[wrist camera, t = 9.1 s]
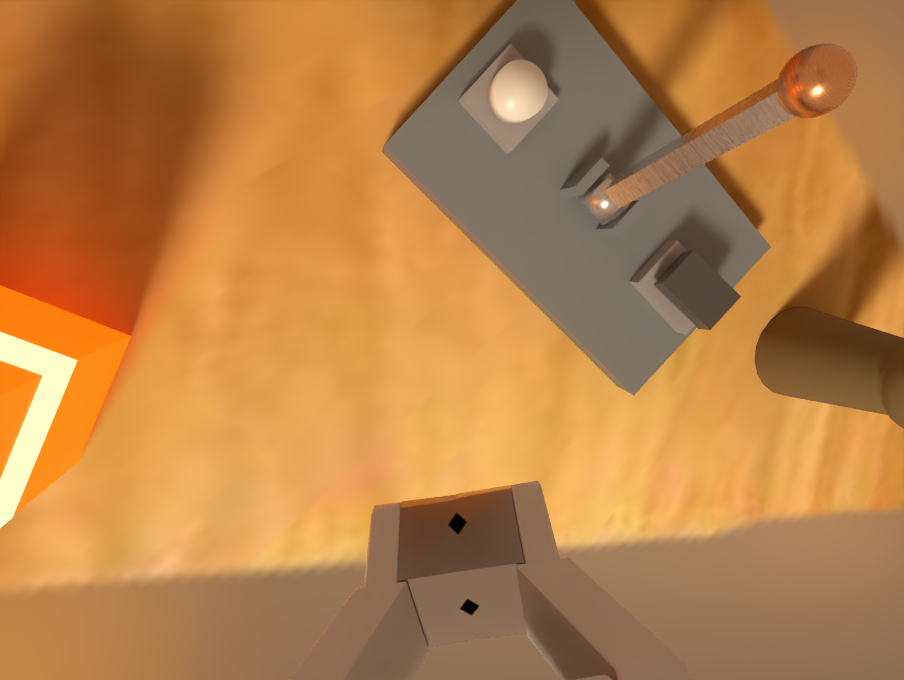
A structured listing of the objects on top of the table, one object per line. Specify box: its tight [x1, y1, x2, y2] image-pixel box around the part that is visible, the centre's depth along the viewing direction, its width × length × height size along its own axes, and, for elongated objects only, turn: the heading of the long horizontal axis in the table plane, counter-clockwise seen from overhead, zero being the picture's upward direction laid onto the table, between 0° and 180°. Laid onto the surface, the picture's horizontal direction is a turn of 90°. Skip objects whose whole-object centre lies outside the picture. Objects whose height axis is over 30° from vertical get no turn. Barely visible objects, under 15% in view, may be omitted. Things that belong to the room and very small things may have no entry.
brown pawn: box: [755, 307, 904, 428], centre depth 31 cm, size 6×6×11 cm
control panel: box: [382, 0, 771, 395], centre depth 30 cm, size 20×12×4 cm, turn 46°
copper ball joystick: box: [579, 44, 857, 225], centre depth 24 cm, size 2×2×13 cm
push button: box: [487, 60, 548, 125], centre depth 26 cm, size 3×3×1 cm
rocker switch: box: [653, 250, 741, 330], centre depth 29 cm, size 4×2×1 cm, turn 47°
